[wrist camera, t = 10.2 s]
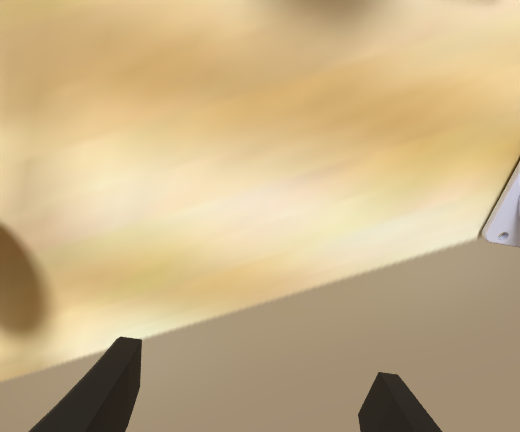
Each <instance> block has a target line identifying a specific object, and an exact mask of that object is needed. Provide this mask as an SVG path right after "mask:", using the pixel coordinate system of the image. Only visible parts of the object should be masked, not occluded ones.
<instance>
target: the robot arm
mask: <svg viewBox="0 0 520 432" xmlns="http://www.w3.org/2000/svg"><path fill="white" fill-rule="evenodd" d="M503 232H504V233H503ZM501 233H503V235H502V236H500V237H499V235H500V234H501ZM482 237H483V238H484V239H485V240H486V241H488V242H492V243H498V244H503V245H509V246H515V247H520V162H519V164H518V166H517V167H516V169H515V171H514V173H513V175H512V177H511V178H510V180H509V182H508V184H507V186H506V188H505V190H504V191H503V193H502V195H501V197H500V199H499V201H498V203H497V204H496V206H495V208H494V210H493V212H492V214H491V216H490V217H489V219H488V221H487V223H486V225H485V227H484V228H483V230H482ZM141 347H142V340H141V339H134V338H126V337H119V338H118V339H116V341H115V342H114V343H113V344H112V345H111V347H110V348H109V349H108V350H107V351H106V352H105V354H104V355H103V356H102V357H101V358H100V360H98V362H97V363H96V364H95V365H94V366H93V367H92V368H91V369H90V370H89V372H88V373H87V374H86V375H85V376H84V377H83V378H82V379H81V380H80V381H79V382H78V383H77V384H76V385H75V386H74V387H73V388H72V389H71V390H70V391H69V393H68V394H67V395H66V396H65V397H64V398H63V399H62V400H61V401H60V402H59V403H58V404H57V405H56V406H55V407H54V408H53V409H52V410H51V411H50V412H49V413H48V414H47V415H46V416H45V417H43V418H42V419H41V420H40V421H39V422H38V423H37V424H36V425H35V426H34V427H33V428H32V429H31V430H30V431H29V432H125V430H126V428H127V426H128V423H129V420H130V417H131V414H132V411H133V407H134V404H135V401H136V398H137V394H138V391H139V388H140V372H141ZM358 417H359V424H360V430H361V432H442V431H441V430H440V428H439V427H438V426H437V424H436V423H435V422H434V421H433V419H432V418H431V417H430V415H429V414H428V413H427V412H426V410H425V409H424V408H423V406H422V405H421V404H420V403H419V401H418V400H417V399H416V397H415V396H414V395H413V393H412V392H411V391H410V390H409V388H408V387H407V386H406V384H405V383H404V382H403V381H402V379H401V378H400V377H399V376H398V375H396V374H389V373H382V372H379V373H378V375H377V377H376V379H375V381H374V383H373V385H372V387H371V389H370V391H369V393H368V395H367V397H366V399H365V401H364V403H363V405H362V408H361V409H360V412H359V414H358Z"/></svg>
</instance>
